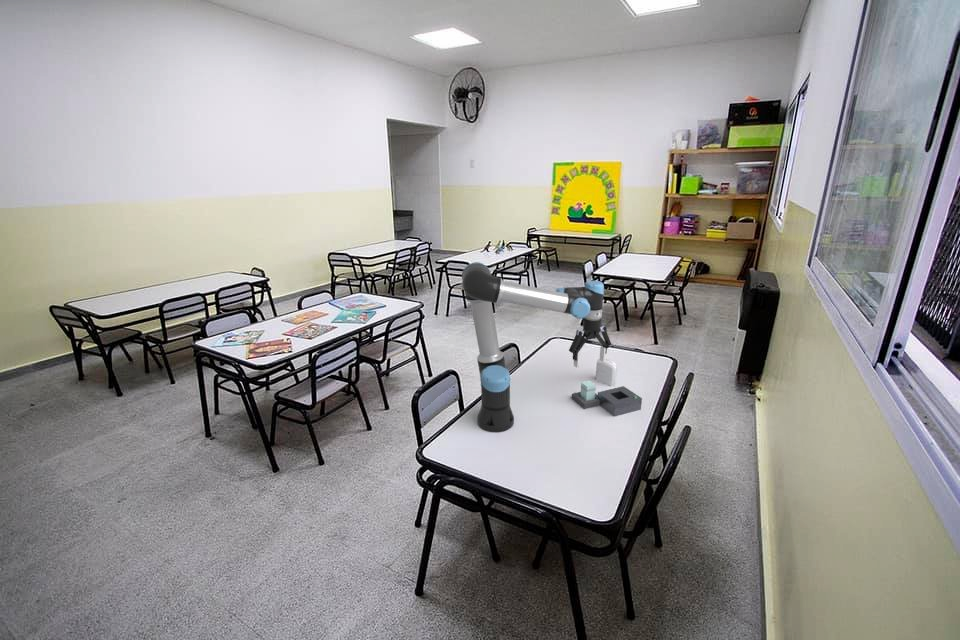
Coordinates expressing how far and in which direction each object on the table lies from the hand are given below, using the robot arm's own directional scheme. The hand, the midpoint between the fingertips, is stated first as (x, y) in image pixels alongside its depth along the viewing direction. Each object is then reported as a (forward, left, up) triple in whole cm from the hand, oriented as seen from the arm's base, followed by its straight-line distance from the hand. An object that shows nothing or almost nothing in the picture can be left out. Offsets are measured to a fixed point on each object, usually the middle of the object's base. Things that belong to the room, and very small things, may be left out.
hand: (589, 363), depth 190 cm
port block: (+10, -10, -19) cm, 23 cm away
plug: (0, -1, -18) cm, 18 cm away
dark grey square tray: (0, -1, -19) cm, 19 cm away
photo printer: (+19, +11, -19) cm, 29 cm away
